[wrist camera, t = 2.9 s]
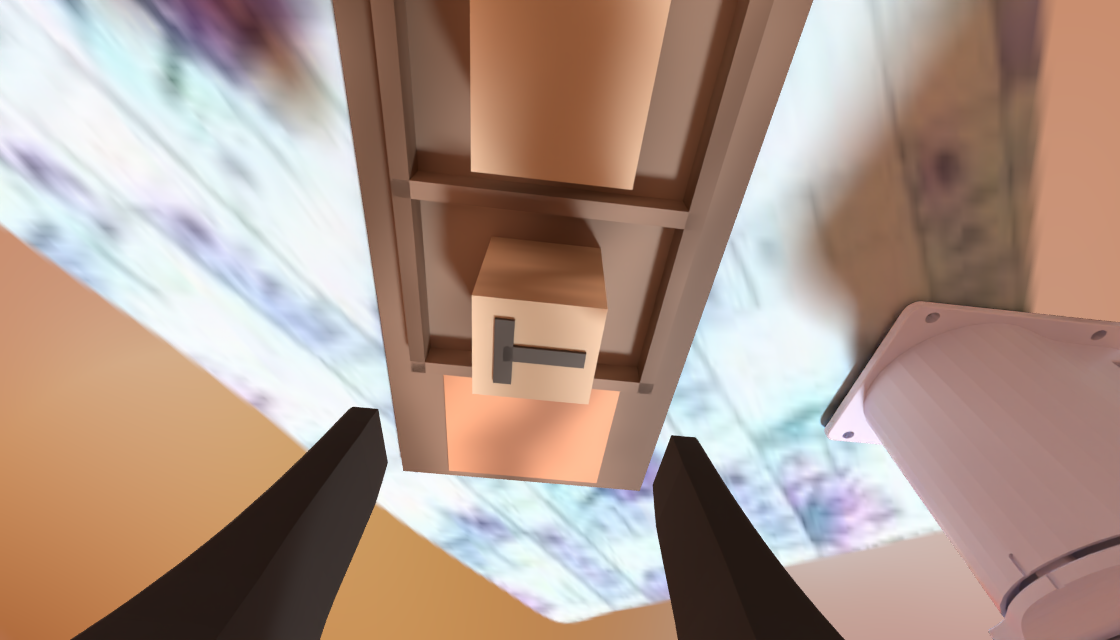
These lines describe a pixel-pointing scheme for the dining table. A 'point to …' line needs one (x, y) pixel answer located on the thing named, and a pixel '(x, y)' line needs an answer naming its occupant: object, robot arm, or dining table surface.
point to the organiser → (550, 230)
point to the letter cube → (537, 320)
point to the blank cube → (563, 87)
